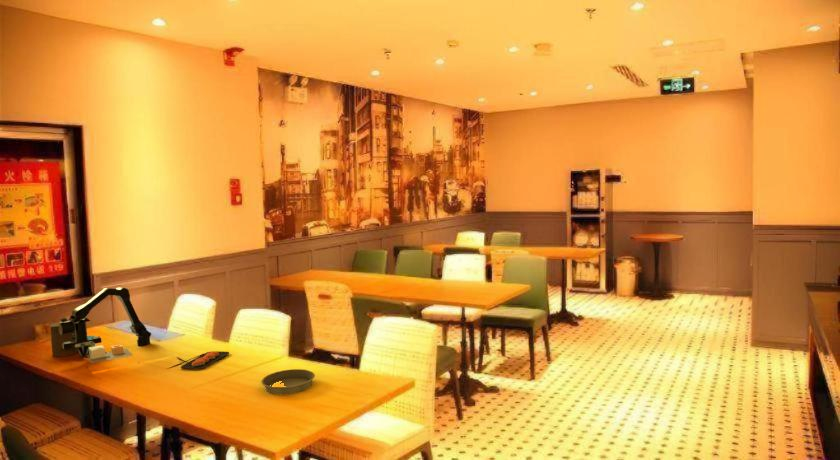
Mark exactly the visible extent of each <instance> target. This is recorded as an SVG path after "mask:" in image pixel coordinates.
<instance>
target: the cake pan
mask: <svg viewBox="0 0 840 460" xmlns="http://www.w3.org/2000/svg"><path fill="white" fill-rule="evenodd" d="M315 377H316V375H315V372H313V371H310V370H307V369H301V368H299V369H285V370H280V371H276V372H272V373H270V374H268V375H266V376H264V377H263V378H262V379H261V381H260V382H261V384H262V386H264V388H265V391H266V393H268V392H269V394H272V395H276V394H279V396H283V395H285V394H287V395H292V394H293V395H294V394H298V393H301V392H303V391H306V390H308V389H310V388H311V387H312V385H313V380H314V379H315ZM279 381H282V382H281V383H284V386H286V387H272V385H273V384H274V383H276V382H279ZM281 383H280V384H281ZM270 385H271V386H270ZM280 394H282V395H280ZM285 396H286V395H285Z"/></svg>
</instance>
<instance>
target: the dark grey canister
mask: <svg viewBox="0 0 840 460" xmlns="http://www.w3.org/2000/svg"><path fill="white" fill-rule="evenodd" d="M67 321H68V317H66V316H62V317H60V321H58V322H54V323H52V324H50V325H49V329H50V343H51V353H52V354H51V355H52V356H53V357H67V356H71V355H76V354H79V350H78V348H77V349H76V348H75V346H72V347H71V348H69V349H63V343H64V342H69V341H70V342H71V343H73V342H75V340H72V337H71V334H75V330H74V331H73V332H72V333H67V334H63V335H61V334H60V333H59V325H60V322H67ZM75 353H76V354H75Z"/></svg>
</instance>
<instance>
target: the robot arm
mask: <svg viewBox="0 0 840 460" xmlns="http://www.w3.org/2000/svg"><path fill="white" fill-rule="evenodd" d="M108 296H115V297H116V298H117V300H119V301H120V302H121V304H122V306H123V307H124V311H125V312H126V315H127V317H128V319H129V320H130V322H131V326H129V329H131V330H130V331H131V333H133V334H134V335H135V336H136V337H137V339H136V344H137V345H136V346H137V347H146V346H149V345H151V336H152V333H151V332H150V331H149V330H148V329H147V328H146V326H145V324H144V323H143V322H142V321H140V319H139V317H138V314H137V312H136V310H135V308H134V306H133V304H132V302H131V294H130V291H129V289H128V288H127V287H126V288H125V287H121V286H119V287H116V288H108V287H105V288H102V290H100V291H99V292H98V293H97V294H96V295H93V297H92V298H91V299H89V300H88V301H87V302H85V303H84V304H81V305H78V306H77V307H76V308H74V309H72V311H71V315H70V317H69V318H68V319H67V322H61V321H59V322H60V325H59V333H60V334H61V335H63V334H67V333H72V332H73V331H74V330H75V334H71V337H72V340H75V341H76V342H73V343H71V342H70V341H69V342H64V343H63V349H69V348H71V347H72V346H75V348H76V349H77V348H78V349H79V351H80V353H81V355H82V356H81V357H82V358H85V357H86V356H87V354H86V351H87V349H88V347H89V346H90V343H92V342H94V343H95V344H100V343H102V338H101V336H96V337H92V339H90V340H88V337H87V336H88V330H87V329H88V328H87V323H88V322H90V321H91V320H90V319H88V318H87V316H88V315H89V314H90V312H91V311H92V309H94V308H95V307H96V306H97V305H98V304H100V303H101V302H102V301H103V300H104V299H106V298H107V297H108ZM81 344H83V347H84V349H83V350H82V347H81Z"/></svg>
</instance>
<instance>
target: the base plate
mask: <svg viewBox="0 0 840 460" xmlns="http://www.w3.org/2000/svg"><path fill="white" fill-rule="evenodd" d="M123 351H124V353H121V354H115V355H113V354H112V351H105V355H106V356H105V357H100V358H95V359H91V358H90V356H89V354H86V356H87V358H88V360H89V361H90V363H91V364H94V363H95V364H96V363H100V362H105V361H111V360H116V359H120V358H121V359H122V358H126V357H131V356H133V354H132V352H131V351H130V350H129V349H128V348H123Z"/></svg>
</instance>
